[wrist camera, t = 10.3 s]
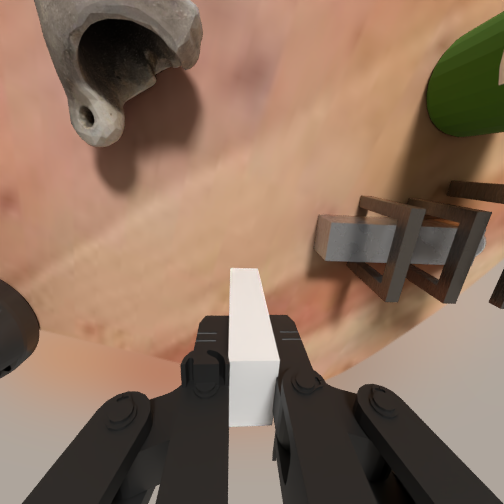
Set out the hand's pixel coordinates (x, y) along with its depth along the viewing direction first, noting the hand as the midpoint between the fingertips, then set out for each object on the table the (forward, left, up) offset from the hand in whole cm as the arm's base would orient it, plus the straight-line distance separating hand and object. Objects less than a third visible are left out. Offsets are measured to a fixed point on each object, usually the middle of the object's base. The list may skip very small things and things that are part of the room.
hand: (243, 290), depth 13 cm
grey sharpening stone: (+17, 0, -14) cm, 22 cm away
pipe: (-10, +17, -15) cm, 25 cm away
